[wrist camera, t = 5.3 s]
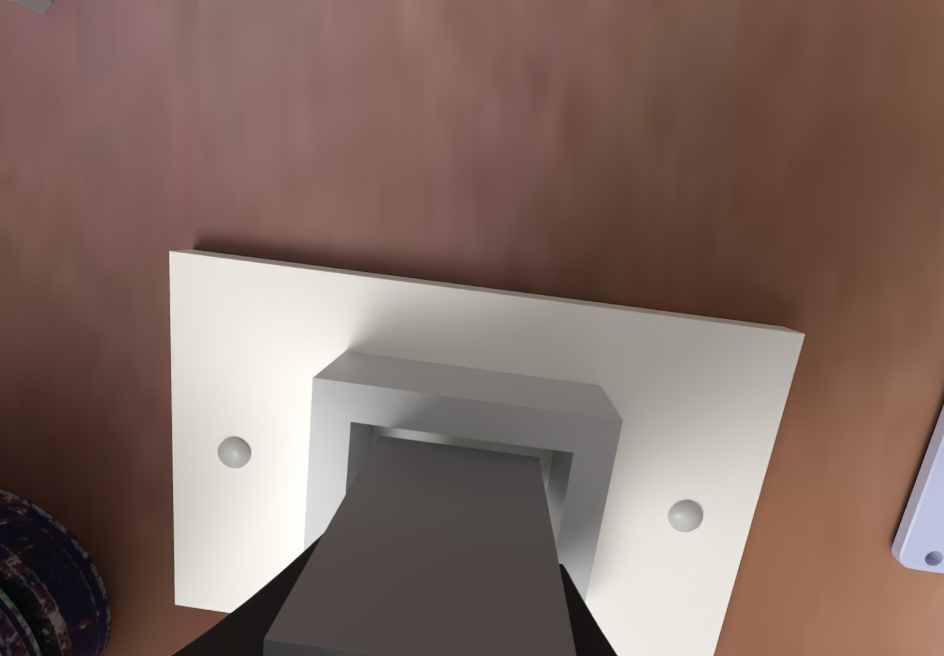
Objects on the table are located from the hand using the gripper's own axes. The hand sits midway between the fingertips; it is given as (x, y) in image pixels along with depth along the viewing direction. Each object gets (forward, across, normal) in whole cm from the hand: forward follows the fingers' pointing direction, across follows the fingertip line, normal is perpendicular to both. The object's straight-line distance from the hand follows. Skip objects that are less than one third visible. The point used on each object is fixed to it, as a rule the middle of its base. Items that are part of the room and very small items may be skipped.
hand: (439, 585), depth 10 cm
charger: (+2, 0, 0) cm, 2 cm away
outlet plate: (+5, 0, 0) cm, 5 cm away
